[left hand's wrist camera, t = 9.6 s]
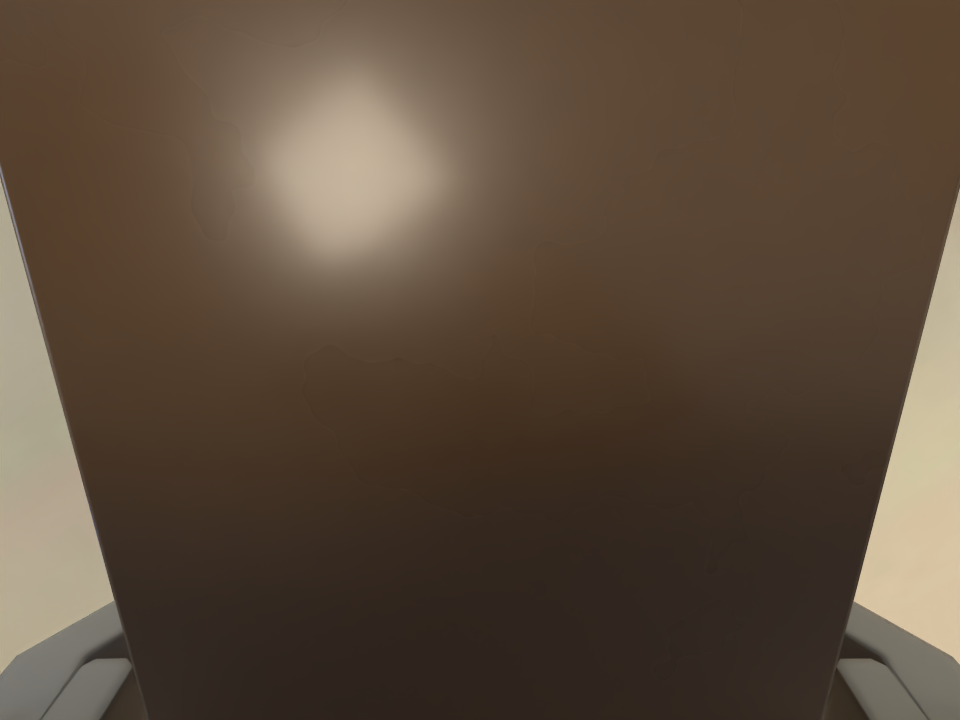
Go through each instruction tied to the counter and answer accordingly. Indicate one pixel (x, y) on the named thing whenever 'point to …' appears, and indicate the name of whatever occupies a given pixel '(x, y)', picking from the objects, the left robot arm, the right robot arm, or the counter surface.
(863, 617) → the left robot arm
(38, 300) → the bar
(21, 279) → the counter surface
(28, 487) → the counter surface
